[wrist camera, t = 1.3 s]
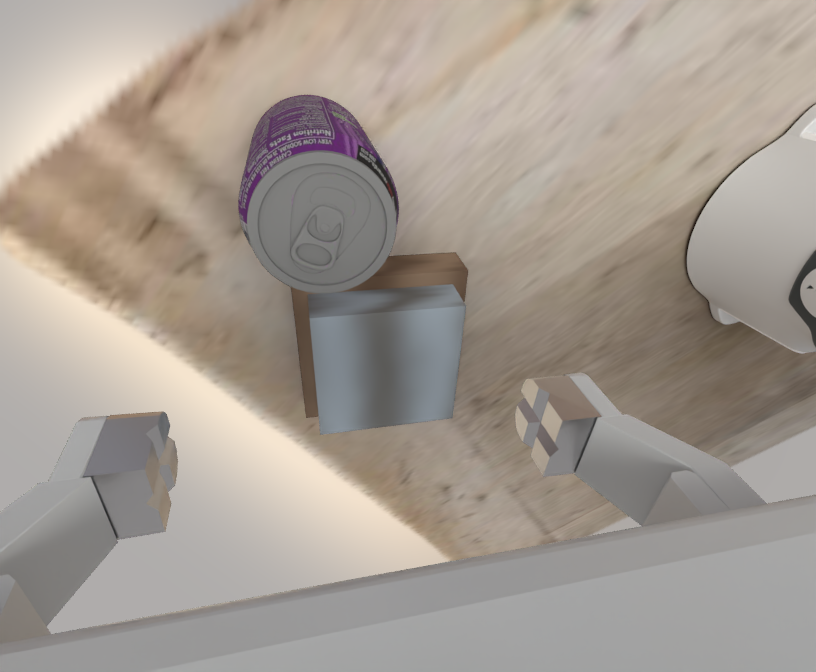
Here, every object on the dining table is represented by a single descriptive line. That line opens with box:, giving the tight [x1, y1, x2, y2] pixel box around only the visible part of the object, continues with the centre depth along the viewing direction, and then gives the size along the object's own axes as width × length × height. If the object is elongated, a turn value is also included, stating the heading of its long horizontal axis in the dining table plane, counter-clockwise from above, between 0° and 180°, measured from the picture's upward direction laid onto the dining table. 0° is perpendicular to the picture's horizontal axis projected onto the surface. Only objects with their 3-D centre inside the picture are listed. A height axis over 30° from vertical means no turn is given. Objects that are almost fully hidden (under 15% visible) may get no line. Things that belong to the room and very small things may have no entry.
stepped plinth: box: [291, 253, 468, 435], centre depth 35 cm, size 12×12×6 cm
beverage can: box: [239, 95, 399, 294], centre depth 25 cm, size 7×7×12 cm
